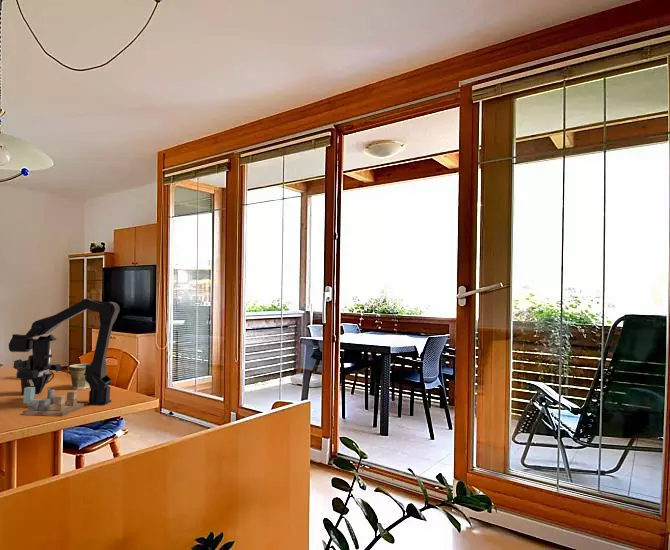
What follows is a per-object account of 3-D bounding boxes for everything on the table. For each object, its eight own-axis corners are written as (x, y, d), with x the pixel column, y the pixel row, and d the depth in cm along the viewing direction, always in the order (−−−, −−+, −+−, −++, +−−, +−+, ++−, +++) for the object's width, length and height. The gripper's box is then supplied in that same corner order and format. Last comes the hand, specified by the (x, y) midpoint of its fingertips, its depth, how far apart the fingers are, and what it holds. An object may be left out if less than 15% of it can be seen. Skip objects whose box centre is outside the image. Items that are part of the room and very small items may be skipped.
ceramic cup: (93, 389, 208) (94, 366, 208) (67, 391, 203) (69, 367, 204) (93, 384, 219) (94, 362, 220) (68, 385, 215) (69, 363, 215)
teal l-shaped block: (46, 402, 177) (47, 387, 177) (42, 403, 174) (43, 388, 174) (27, 401, 177) (28, 386, 177) (23, 403, 174) (24, 388, 174)
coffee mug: (15, 396, 191) (16, 371, 191) (23, 391, 199) (24, 368, 199) (47, 395, 194) (48, 371, 194) (53, 391, 202) (55, 367, 202)
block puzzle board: (83, 406, 178) (84, 389, 178) (62, 416, 164) (63, 397, 164) (47, 405, 178) (48, 387, 178) (22, 414, 164) (23, 395, 165)
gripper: (35, 348, 191) (33, 387, 190) (2, 354, 172) (0, 397, 172) (63, 349, 191) (60, 388, 190) (33, 355, 172) (30, 399, 171)
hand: (38, 393), depth 181 cm, fingers closed
